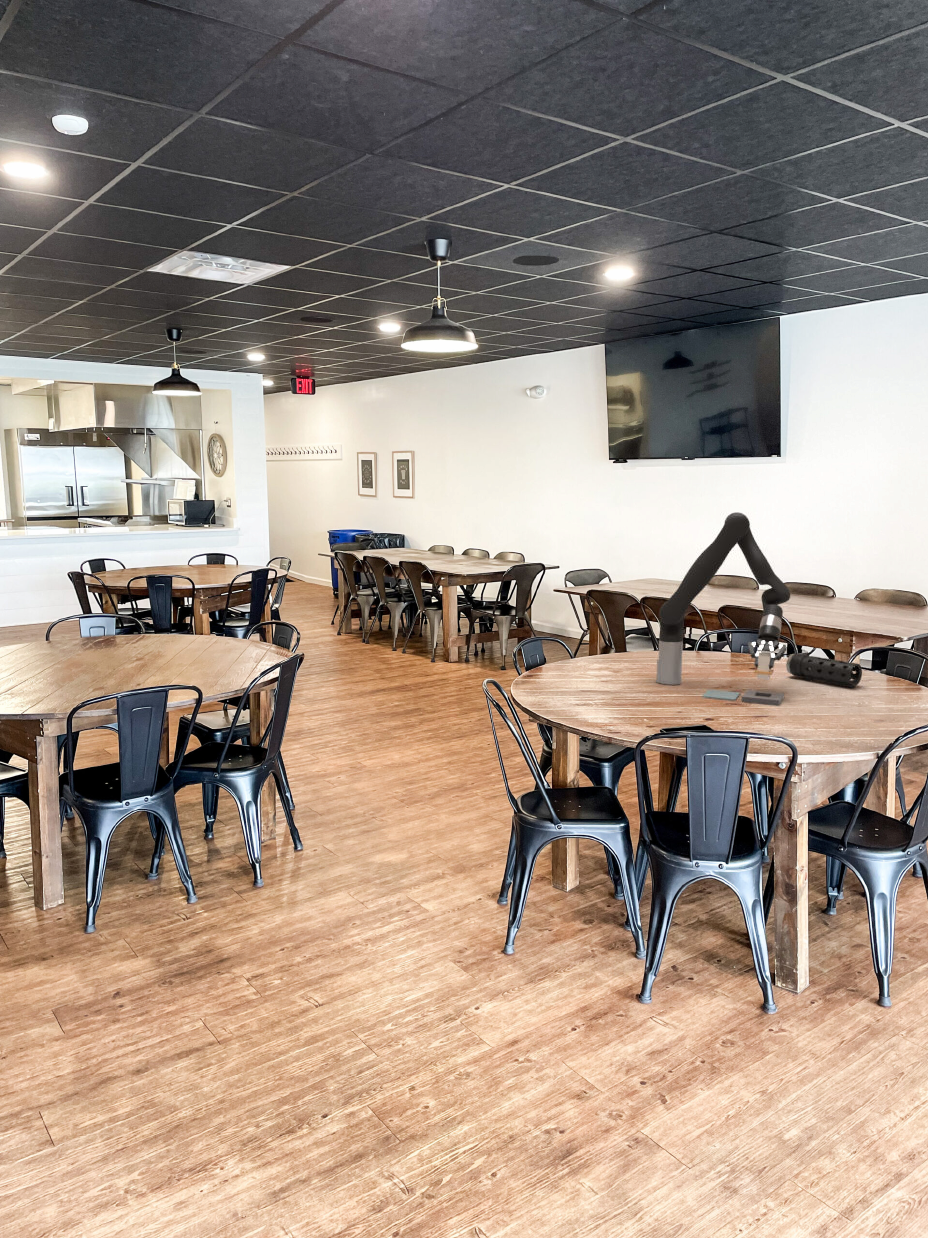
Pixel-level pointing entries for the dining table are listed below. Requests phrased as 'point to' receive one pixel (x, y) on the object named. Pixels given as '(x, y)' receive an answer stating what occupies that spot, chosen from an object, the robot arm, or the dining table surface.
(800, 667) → the muzzle brake
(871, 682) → the dining table surface
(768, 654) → the plug
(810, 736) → the dining table surface
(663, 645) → the robot arm
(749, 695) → the socket box
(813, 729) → the dining table surface
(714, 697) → the mat
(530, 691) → the dining table surface
